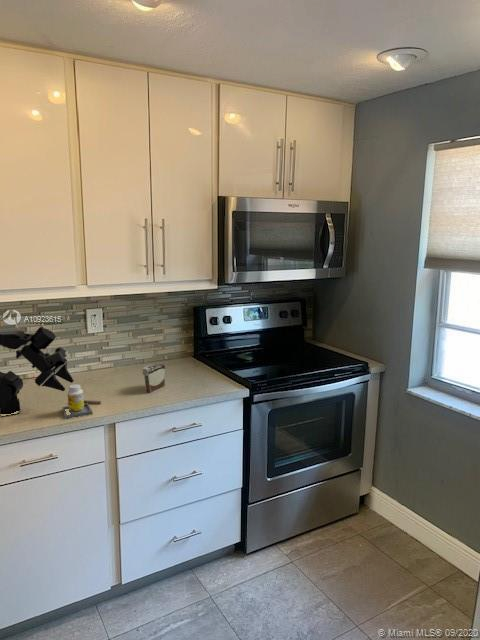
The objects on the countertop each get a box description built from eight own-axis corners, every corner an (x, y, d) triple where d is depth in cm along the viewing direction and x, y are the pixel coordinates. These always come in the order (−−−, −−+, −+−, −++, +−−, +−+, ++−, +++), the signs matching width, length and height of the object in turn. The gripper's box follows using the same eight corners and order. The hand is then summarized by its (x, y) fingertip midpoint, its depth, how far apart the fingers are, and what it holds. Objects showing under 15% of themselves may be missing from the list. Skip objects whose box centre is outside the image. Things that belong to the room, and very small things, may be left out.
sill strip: (70, 403, 186) (70, 401, 186) (71, 402, 187) (71, 400, 187) (100, 404, 185) (100, 401, 185) (101, 403, 187) (101, 400, 186)
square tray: (65, 419, 171) (65, 416, 171) (62, 409, 180) (62, 407, 179) (92, 414, 176) (92, 411, 175) (88, 405, 184) (87, 402, 184)
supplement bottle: (67, 410, 178) (65, 385, 176) (82, 407, 181) (80, 382, 179) (71, 415, 174) (69, 389, 172) (86, 412, 177) (84, 386, 175)
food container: (156, 383, 210) (155, 362, 208) (167, 385, 206) (166, 364, 204) (137, 391, 199) (136, 369, 197) (148, 394, 196) (147, 371, 194)
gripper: (41, 349, 163) (75, 379, 165) (60, 336, 181) (90, 364, 184) (20, 371, 164) (54, 400, 167) (41, 356, 183) (71, 383, 185)
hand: (68, 385), depth 176 cm, fingers open, 9 cm apart
